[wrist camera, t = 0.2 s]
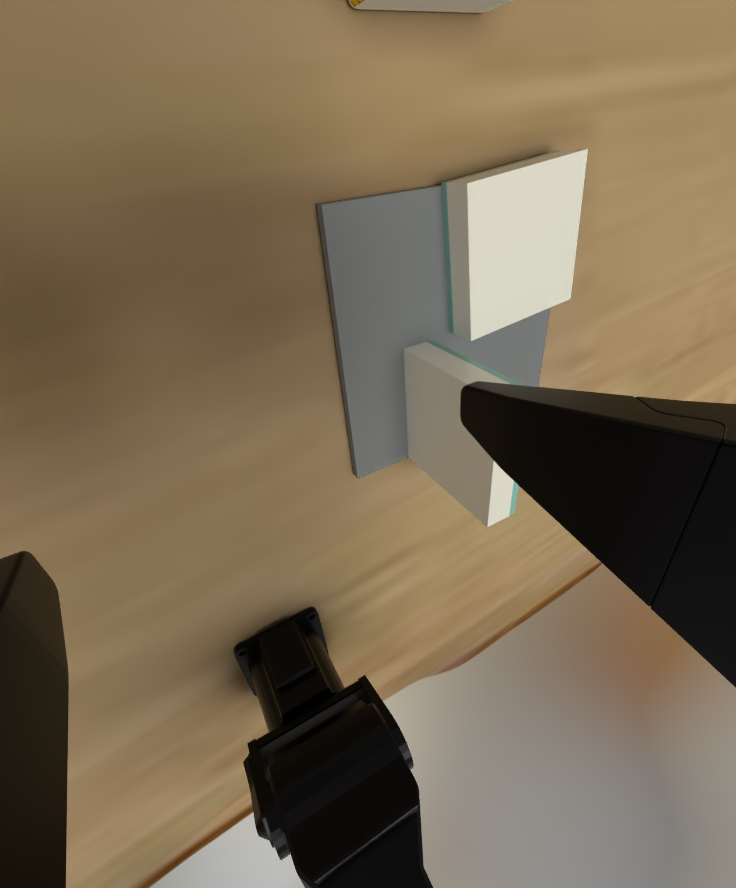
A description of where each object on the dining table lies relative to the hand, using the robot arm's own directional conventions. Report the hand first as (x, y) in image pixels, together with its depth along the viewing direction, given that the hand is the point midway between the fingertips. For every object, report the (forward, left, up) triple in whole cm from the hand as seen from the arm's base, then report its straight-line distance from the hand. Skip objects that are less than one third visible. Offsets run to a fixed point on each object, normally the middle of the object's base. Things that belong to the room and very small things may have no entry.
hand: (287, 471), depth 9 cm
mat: (-5, -15, -14) cm, 21 cm away
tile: (-9, -12, -14) cm, 20 cm away
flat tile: (0, -18, -14) cm, 23 cm away
